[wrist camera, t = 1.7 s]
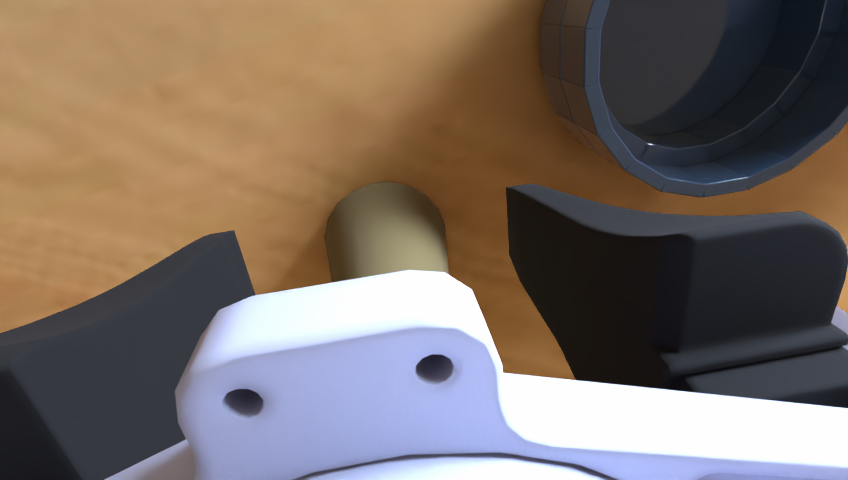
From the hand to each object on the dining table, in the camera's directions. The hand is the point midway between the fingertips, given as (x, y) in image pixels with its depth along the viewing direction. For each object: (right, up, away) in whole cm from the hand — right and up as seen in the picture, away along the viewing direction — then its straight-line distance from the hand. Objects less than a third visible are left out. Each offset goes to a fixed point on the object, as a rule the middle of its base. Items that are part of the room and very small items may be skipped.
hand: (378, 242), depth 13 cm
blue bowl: (+12, +9, +9) cm, 18 cm away
